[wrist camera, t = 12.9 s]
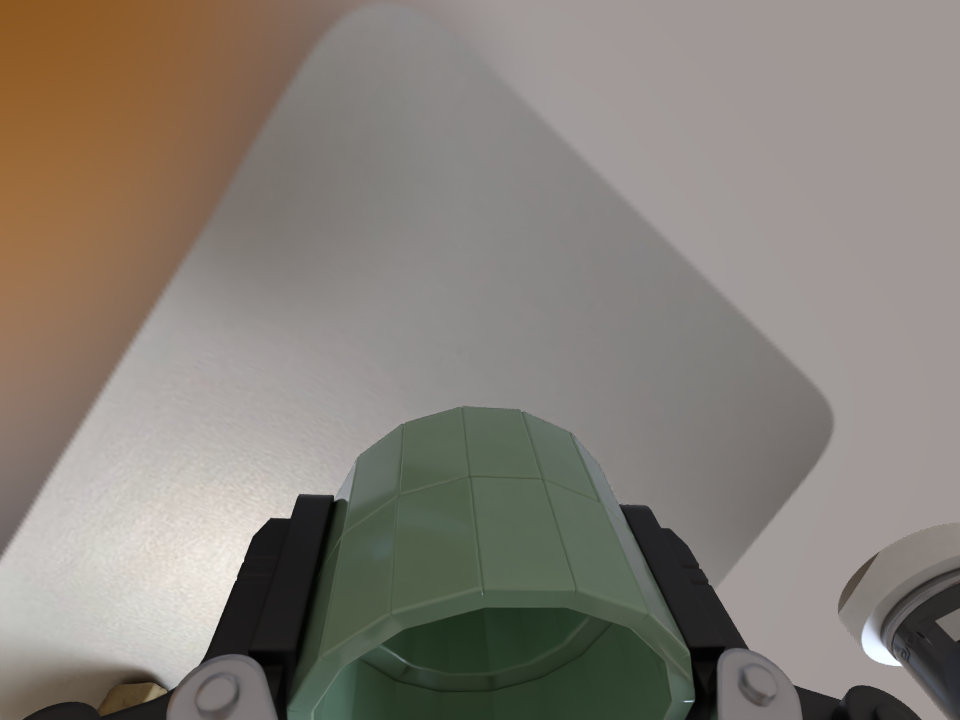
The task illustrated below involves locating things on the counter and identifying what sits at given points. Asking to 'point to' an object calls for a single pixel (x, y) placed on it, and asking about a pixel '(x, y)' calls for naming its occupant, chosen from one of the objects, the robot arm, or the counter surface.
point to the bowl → (485, 585)
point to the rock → (129, 696)
